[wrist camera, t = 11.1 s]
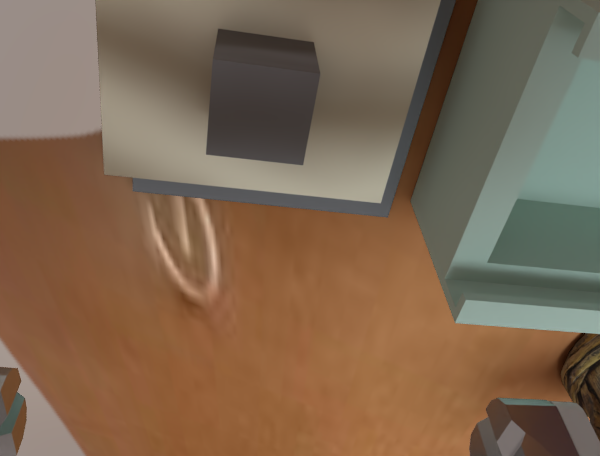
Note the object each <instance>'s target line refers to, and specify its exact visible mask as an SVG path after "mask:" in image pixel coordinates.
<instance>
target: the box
mask: <svg viewBox="0 0 600 456" xmlns="http://www.w3.org/2000/svg"><path fill="white" fill-rule="evenodd" d="M410 202H411V204H412V207H413V210H414V212H415V215H416V218H417V221H418V223H419V226H420V229H421V231H422V234H423V237H424V240H425V242H426V245H427V248H428V250H429V253H430V256H431V259H432V261H433V264H434V267H435V269H436V272H437V275H438V278H439V280H440V283H441V286H442V289H443V291H444V294H445V297H446V299H447V302H448V305H449V308H450V310H451V313H452V316H453V318H454V321H455V323H462V324H475V325H488V326H501V327H514V328H527V329H540V330H553V331H566V332H579V333H592V334H600V0H478V2H477V4H476V7H475V10H474V13H473V16H472V19H471V22H470V25H469V28H468V31H467V34H466V37H465V40H464V43H463V46H462V49H461V52H460V55H459V58H458V61H457V64H456V67H455V70H454V73H453V76H452V79H451V82H450V85H449V88H448V91H447V94H446V97H445V100H444V103H443V106H442V109H441V112H440V115H439V118H438V121H437V124H436V127H435V129H434V132H433V135H432V138H431V141H430V144H429V147H428V150H427V153H426V156H425V159H424V162H423V165H422V168H421V171H420V174H419V177H418V180H417V183H416V186H415V189H414V192H413V195H412V198H411V201H410Z"/></svg>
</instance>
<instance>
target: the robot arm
mask: <svg viewBox="0 0 600 456" xmlns="http://www.w3.org/2000/svg"><path fill="white" fill-rule="evenodd" d="M20 383H21V378H20V375H19V371H18V368H6V367H5V368H4V367H0V456H16V455H17V453H18V450H19V447H20V444H21V441H22V439H23V434H24V429H25V424H26V410H27V407H26V402H25V398H24V397H23V396H22V395H20V394H19V393H18V392H17V390H18V388H19V385H20ZM486 411H487V414H488V418H486V419H484V420H482V421H480V422H479V423H477V424H476V426H475V428H474V430H473V432H472V434H471V439H470V448H469V450H470V456H600V441H599V439H598V437H597V435H596V433H595V431H594V429H593V427H592V425H591V423H590V422H589V420H588V418H587V416H586V414H585V412H584V410H583V409H582V408H581V407H580V406H579V405H578V404H577V403H573V402H556V401H547V400H534V399H512V398H496V399H494V400H492V401H491V402H490V403H489V405H488V406H487V408H486Z"/></svg>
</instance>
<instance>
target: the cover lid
mask: <svg viewBox="0 0 600 456" xmlns="http://www.w3.org/2000/svg"><path fill="white" fill-rule="evenodd" d="M95 1H96V21H97V41H98V59H99V60H98V61H99V81H100V100H101V121H102V141H103V161H104V175H112V176H122V177H132V178H141V179H151V180H160V181H170V182H180V183H189V184H199V185H209V186H218V187H228V188H238V189H247V190H257V191H266V192H276V193H286V194H295V195H305V196H315V197H324V198H334V199H344V200H353V201H363V202H372V203H381V201H382V197H383V194H384V191H385V187H386V184H387V180H388V177H389V174H390V170H391V167H392V164H393V160H394V157H395V153H396V150H397V147H398V143H399V140H400V137H401V133H402V130H403V126H404V123H405V120H406V116H407V113H408V110H409V106H410V103H411V99H412V96H413V93H414V89H415V86H416V83H417V79H418V76H419V72H420V69H421V66H422V62H423V59H424V56H425V52H426V49H427V45H428V42H429V39H430V35H431V32H432V29H433V25H434V22H435V18H436V15H437V12H438V8H439V5H440V2H441V0H95Z"/></svg>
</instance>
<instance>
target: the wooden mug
mask: <svg viewBox="0 0 600 456" xmlns="http://www.w3.org/2000/svg"><path fill="white" fill-rule="evenodd" d="M561 380H562V383H563V385H564V387H565V389H566V390H567V392H568V394H569V396H570V398H571V399H572V401H573V403H577V404H578V405H579V406H580V407H581V408H582V409H583V410H584V412H585V414H586V416H587V417H589V418H590V423H591V425H592V427H593V429H594V431H595V433H596V435H597V437H598V439H599V441H600V334H592V333H586V334H585V335H584V336H583V337H582V338H581V339H580V340H579V341H578V342H577V343H576V344H575V346H574V347H573V348H572V349H571V351H570V352H569V354H568V357H567V359H566V361H565V363H564V366H563V368H562V371H561Z"/></svg>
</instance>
